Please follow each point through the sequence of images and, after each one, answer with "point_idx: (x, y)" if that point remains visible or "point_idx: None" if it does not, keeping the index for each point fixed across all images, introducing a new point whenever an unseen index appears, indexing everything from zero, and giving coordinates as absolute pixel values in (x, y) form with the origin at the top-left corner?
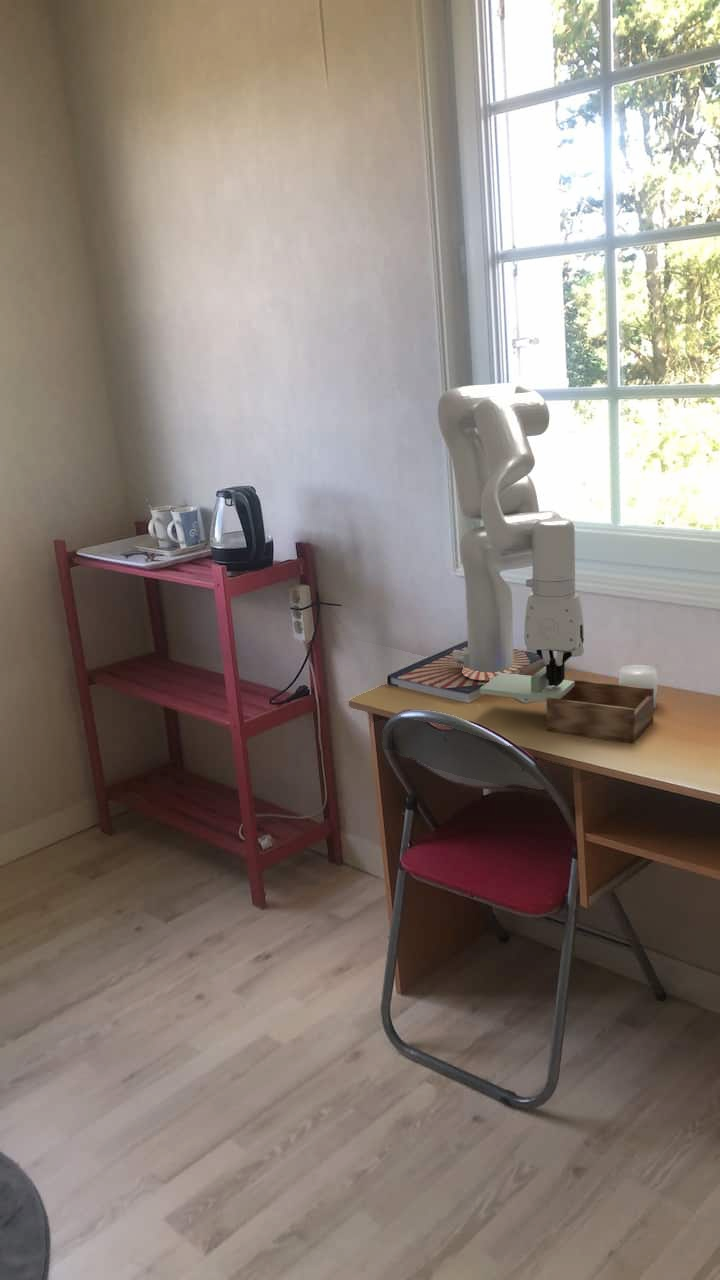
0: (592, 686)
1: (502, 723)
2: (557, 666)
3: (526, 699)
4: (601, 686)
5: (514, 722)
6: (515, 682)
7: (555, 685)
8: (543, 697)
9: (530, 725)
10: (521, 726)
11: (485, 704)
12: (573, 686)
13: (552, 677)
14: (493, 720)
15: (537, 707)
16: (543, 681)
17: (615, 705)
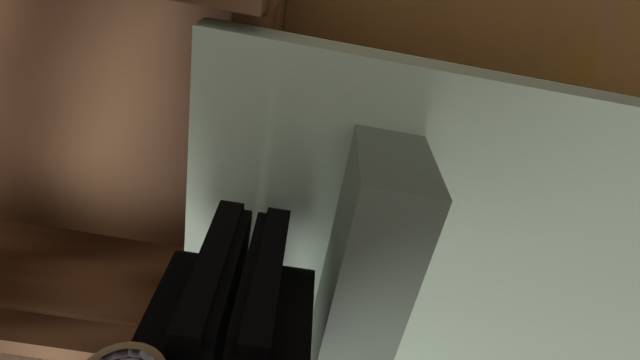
0: (85, 330)
1: (557, 34)
2: (170, 348)
3: None
4: (25, 326)
5: (489, 62)
6: (554, 295)
7: (230, 202)
8: (304, 42)
9: (397, 34)
10: (445, 8)
11: None
12: None
13: (248, 255)
14: (608, 70)
15: None
16: (337, 240)
17: (3, 244)
